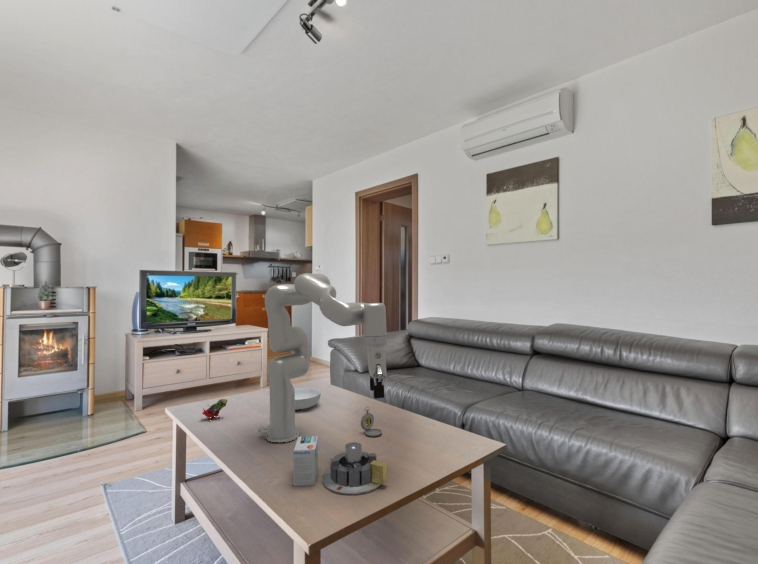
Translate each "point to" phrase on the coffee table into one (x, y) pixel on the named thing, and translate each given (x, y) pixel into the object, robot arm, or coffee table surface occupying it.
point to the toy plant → (215, 408)
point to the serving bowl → (306, 397)
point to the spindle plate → (347, 488)
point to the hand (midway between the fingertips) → (376, 393)
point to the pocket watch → (369, 425)
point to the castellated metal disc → (358, 470)
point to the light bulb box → (305, 461)
